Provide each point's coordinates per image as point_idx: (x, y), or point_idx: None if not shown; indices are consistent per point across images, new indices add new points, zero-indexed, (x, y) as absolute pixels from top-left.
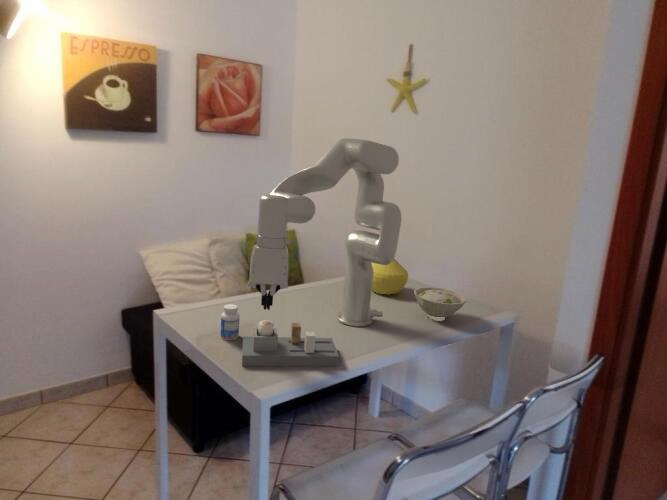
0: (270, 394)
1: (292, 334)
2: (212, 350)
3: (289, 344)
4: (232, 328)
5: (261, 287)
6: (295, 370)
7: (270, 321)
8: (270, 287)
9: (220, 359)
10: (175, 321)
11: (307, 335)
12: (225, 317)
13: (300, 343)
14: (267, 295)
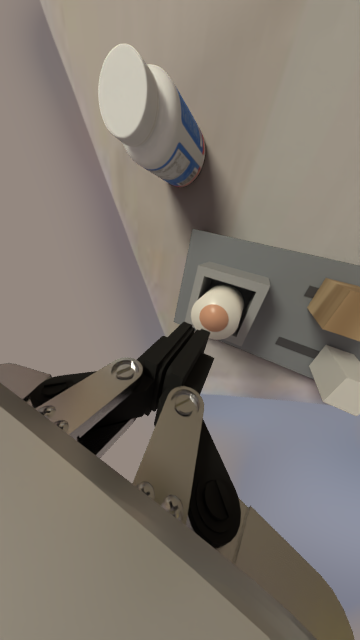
0: None
1: (315, 317)
2: (144, 240)
3: (298, 307)
4: (169, 177)
5: (79, 442)
6: (266, 362)
7: (233, 309)
8: (155, 430)
9: (154, 281)
10: (61, 10)
11: (328, 401)
12: (130, 156)
13: None
14: (173, 364)
